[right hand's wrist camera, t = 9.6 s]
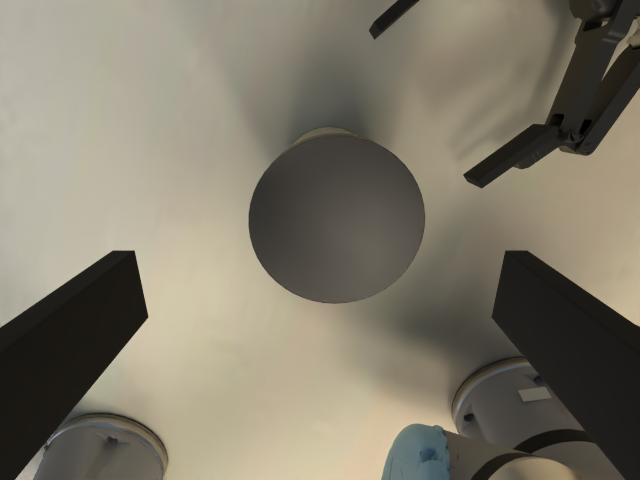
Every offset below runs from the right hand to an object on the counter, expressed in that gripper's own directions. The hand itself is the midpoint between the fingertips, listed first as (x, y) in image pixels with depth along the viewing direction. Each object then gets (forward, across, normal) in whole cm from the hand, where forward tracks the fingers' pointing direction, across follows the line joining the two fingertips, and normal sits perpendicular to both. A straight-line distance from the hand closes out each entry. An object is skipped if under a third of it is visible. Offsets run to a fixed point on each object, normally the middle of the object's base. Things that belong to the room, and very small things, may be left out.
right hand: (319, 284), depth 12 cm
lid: (+8, +1, 0) cm, 8 cm away
